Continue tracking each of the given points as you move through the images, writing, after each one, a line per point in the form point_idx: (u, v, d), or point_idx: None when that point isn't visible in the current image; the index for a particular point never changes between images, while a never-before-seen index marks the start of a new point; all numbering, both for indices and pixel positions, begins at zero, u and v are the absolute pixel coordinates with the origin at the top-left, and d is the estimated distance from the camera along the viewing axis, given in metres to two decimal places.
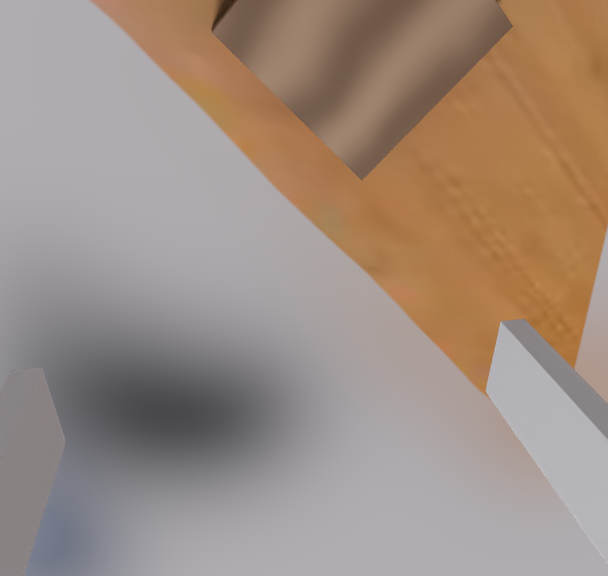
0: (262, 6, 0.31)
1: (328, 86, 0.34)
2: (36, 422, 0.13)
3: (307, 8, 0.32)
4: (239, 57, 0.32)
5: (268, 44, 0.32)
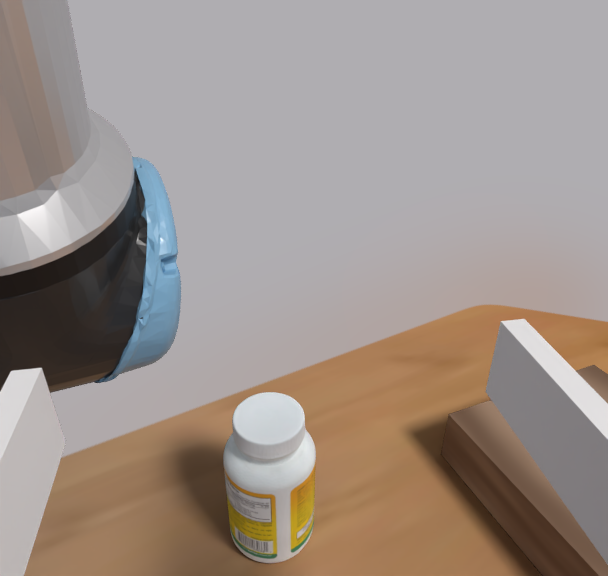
0: None
1: None
2: (36, 422, 0.13)
3: None
4: None
5: None
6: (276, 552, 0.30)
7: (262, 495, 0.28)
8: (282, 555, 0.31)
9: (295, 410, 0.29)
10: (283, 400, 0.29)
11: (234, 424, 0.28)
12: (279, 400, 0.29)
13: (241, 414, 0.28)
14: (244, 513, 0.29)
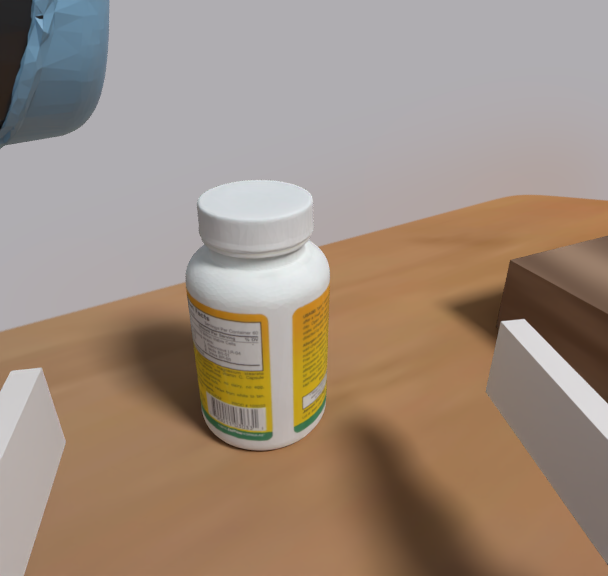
0: None
1: None
2: (36, 422, 0.13)
3: None
4: None
5: None
6: (272, 429, 0.19)
7: (246, 317, 0.17)
8: (281, 435, 0.20)
9: (297, 193, 0.18)
10: (278, 185, 0.19)
11: (199, 205, 0.17)
12: (272, 186, 0.19)
13: (211, 197, 0.18)
14: (220, 359, 0.18)
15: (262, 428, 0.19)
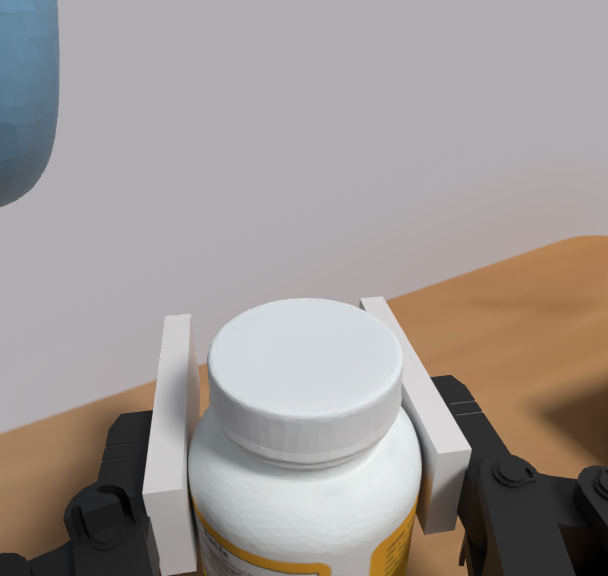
0: None
1: None
2: (192, 358, 0.15)
3: None
4: None
5: None
6: None
7: (293, 567, 0.10)
8: None
9: (373, 333, 0.11)
10: (338, 313, 0.12)
11: (212, 367, 0.10)
12: (327, 313, 0.12)
13: (231, 344, 0.11)
14: None
15: None
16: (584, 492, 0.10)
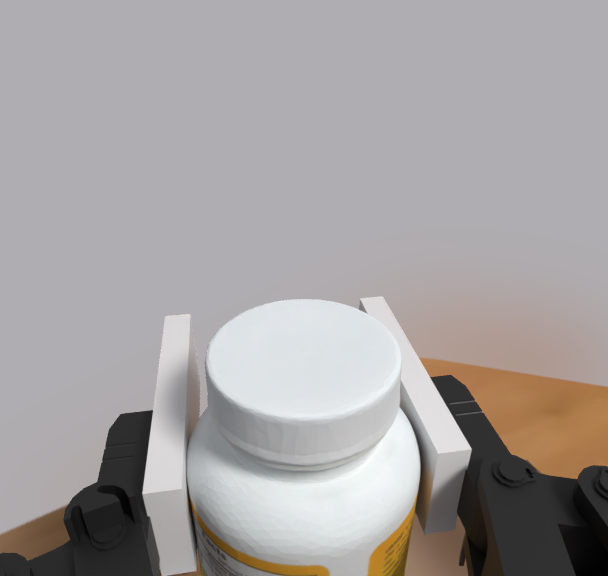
0: None
1: None
2: (192, 358, 0.15)
3: None
4: None
5: None
6: None
7: (291, 569, 0.10)
8: None
9: (372, 334, 0.11)
10: (336, 314, 0.12)
11: (210, 369, 0.10)
12: (326, 314, 0.12)
13: (229, 345, 0.11)
14: None
15: None
16: (584, 492, 0.10)
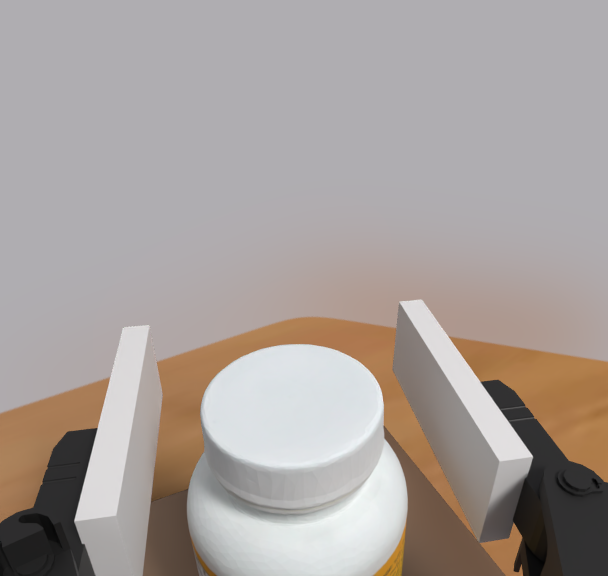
0: None
1: None
2: (149, 371, 0.15)
3: None
4: None
5: None
6: None
7: None
8: None
9: (356, 379, 0.12)
10: (324, 359, 0.12)
11: (204, 419, 0.11)
12: (314, 359, 0.12)
13: (223, 395, 0.11)
14: None
15: None
16: None
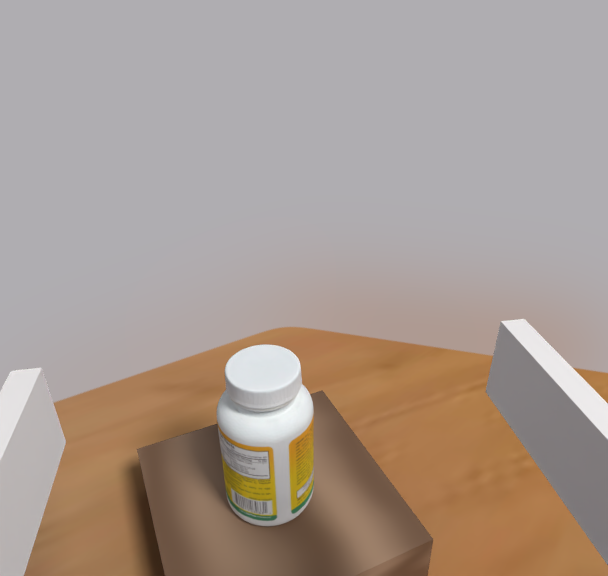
0: None
1: (306, 542, 0.29)
2: (36, 422, 0.13)
3: (221, 538, 0.29)
4: None
5: None
6: (276, 513, 0.29)
7: (259, 448, 0.26)
8: (283, 516, 0.29)
9: (290, 360, 0.28)
10: (277, 351, 0.28)
11: (227, 375, 0.26)
12: (273, 351, 0.28)
13: (234, 365, 0.27)
14: (241, 471, 0.27)
15: (270, 513, 0.29)
16: None
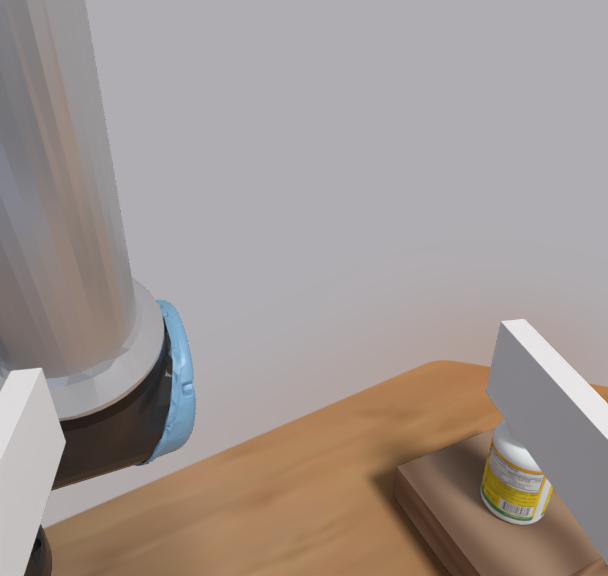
0: (489, 563, 0.39)
1: (554, 536, 0.41)
2: (36, 422, 0.13)
3: (493, 532, 0.42)
4: None
5: (518, 569, 0.39)
6: (533, 515, 0.41)
7: (539, 472, 0.39)
8: (536, 517, 0.42)
9: None
10: None
11: None
12: None
13: None
14: (518, 487, 0.40)
15: (529, 515, 0.41)
16: None
